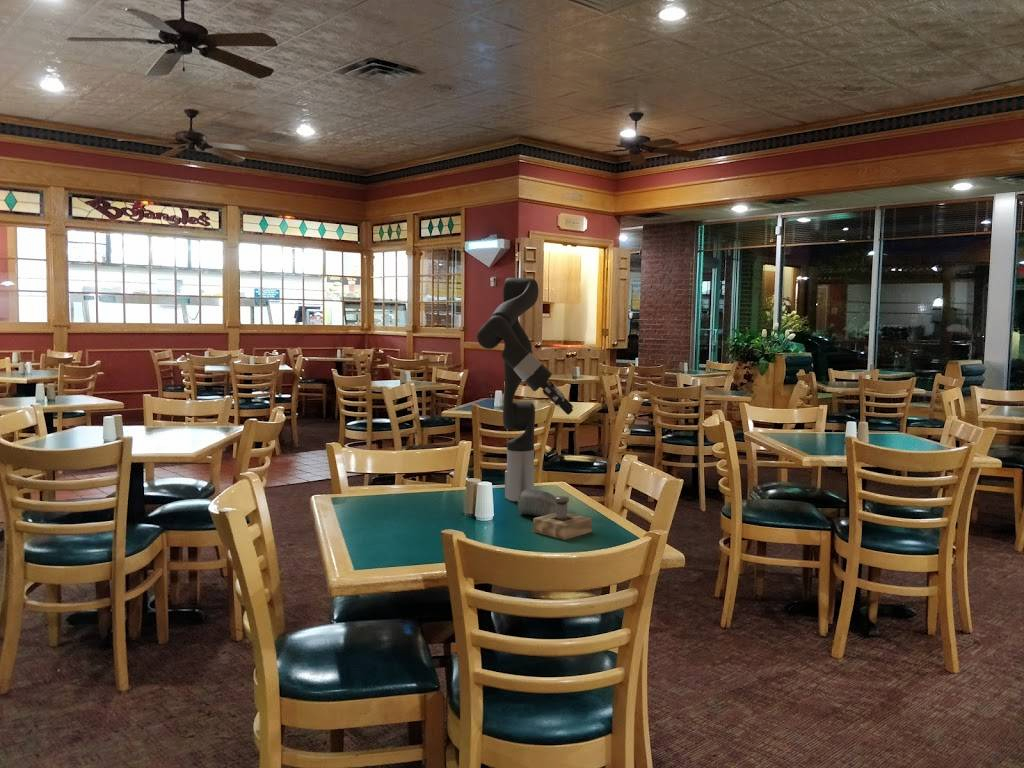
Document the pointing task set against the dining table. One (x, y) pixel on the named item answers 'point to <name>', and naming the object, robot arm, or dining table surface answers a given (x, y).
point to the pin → (561, 507)
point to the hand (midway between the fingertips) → (570, 410)
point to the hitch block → (562, 526)
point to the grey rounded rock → (536, 503)
